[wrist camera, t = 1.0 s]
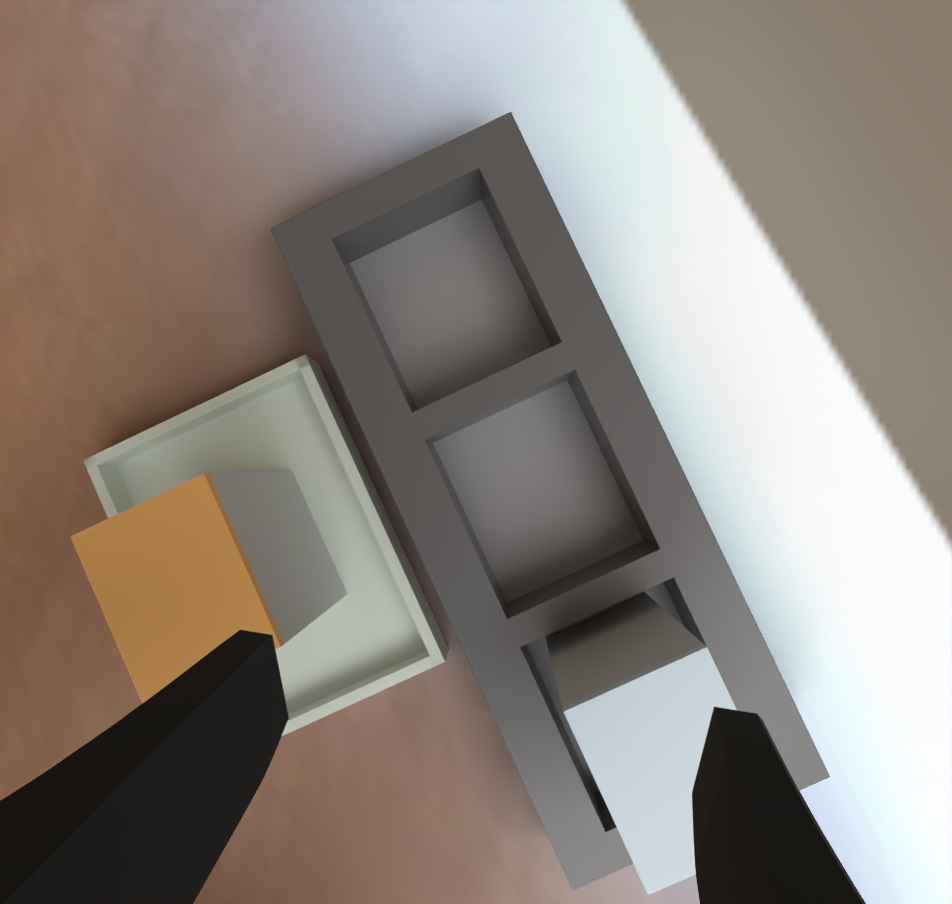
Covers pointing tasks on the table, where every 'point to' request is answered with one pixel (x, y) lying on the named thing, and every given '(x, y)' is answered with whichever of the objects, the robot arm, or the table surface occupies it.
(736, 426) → the table surface
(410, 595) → the tray
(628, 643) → the twin plug
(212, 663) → the robot arm
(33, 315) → the table surface
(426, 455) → the grey slotted rack
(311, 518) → the plug
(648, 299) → the table surface
